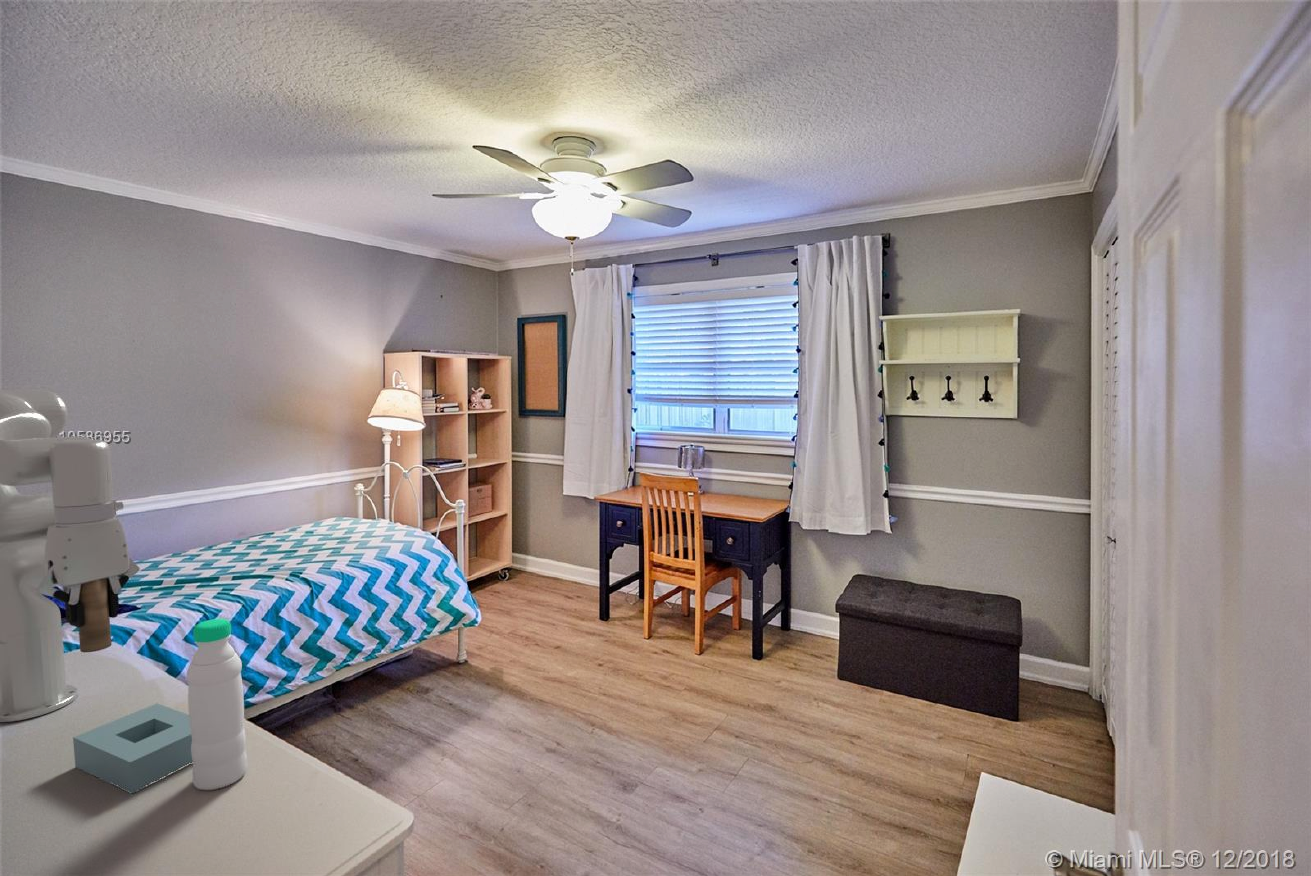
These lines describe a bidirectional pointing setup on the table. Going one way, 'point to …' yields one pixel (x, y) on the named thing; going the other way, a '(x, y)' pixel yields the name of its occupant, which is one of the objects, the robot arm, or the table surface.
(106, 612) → the peg
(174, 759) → the socket block
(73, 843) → the table surface
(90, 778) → the table surface
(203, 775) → the water bottle
